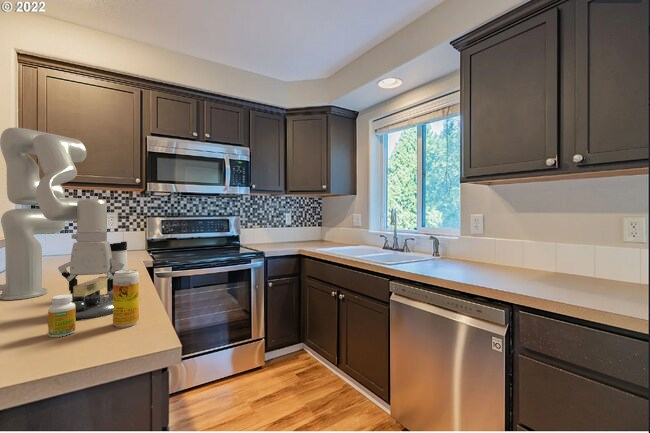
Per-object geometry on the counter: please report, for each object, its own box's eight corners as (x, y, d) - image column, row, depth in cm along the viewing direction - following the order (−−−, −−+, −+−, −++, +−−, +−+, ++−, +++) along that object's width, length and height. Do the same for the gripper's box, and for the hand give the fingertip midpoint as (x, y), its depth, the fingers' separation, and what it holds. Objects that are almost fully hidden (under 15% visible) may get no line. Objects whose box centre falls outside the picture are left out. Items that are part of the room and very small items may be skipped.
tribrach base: (38, 321, 88) (38, 305, 88) (78, 302, 106) (78, 289, 106) (108, 318, 91) (108, 303, 91) (135, 300, 109) (135, 288, 109)
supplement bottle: (52, 339, 76) (52, 300, 76) (44, 334, 79) (44, 297, 79) (79, 332, 81) (79, 295, 81) (70, 328, 84) (70, 292, 84)
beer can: (111, 329, 83) (111, 274, 83) (114, 322, 88) (114, 270, 88) (137, 326, 86) (138, 272, 85) (139, 319, 91) (139, 268, 91)
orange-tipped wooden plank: (86, 308, 92) (86, 285, 92) (72, 309, 92) (71, 286, 92) (112, 296, 106) (112, 276, 106) (100, 296, 105) (100, 276, 105)
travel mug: (117, 297, 112) (117, 242, 112) (102, 296, 114) (102, 241, 113) (131, 293, 118) (131, 240, 118) (117, 291, 120) (117, 240, 119)
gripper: (52, 239, 91) (52, 297, 92) (120, 238, 97) (120, 292, 97) (64, 237, 99) (64, 290, 99) (127, 236, 104) (127, 287, 105)
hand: (92, 291), depth 98 cm, fingers open, 9 cm apart
